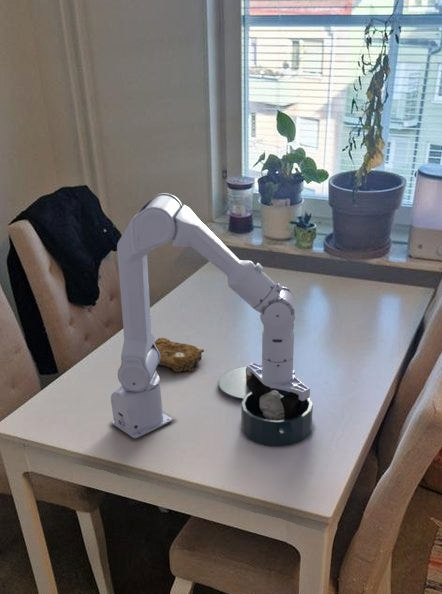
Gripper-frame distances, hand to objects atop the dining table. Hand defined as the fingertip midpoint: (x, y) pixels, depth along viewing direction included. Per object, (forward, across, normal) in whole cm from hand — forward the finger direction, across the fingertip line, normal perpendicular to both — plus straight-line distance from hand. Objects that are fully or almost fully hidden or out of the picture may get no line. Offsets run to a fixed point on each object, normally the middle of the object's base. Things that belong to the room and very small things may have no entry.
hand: (276, 418), depth 131 cm
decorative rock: (+2, +37, -3) cm, 37 cm away
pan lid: (+2, +15, -8) cm, 17 cm away
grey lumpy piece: (+2, 0, 0) cm, 2 cm away
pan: (+2, 0, 0) cm, 2 cm away
